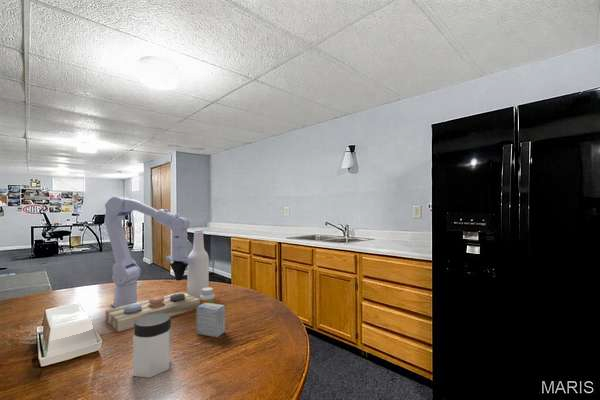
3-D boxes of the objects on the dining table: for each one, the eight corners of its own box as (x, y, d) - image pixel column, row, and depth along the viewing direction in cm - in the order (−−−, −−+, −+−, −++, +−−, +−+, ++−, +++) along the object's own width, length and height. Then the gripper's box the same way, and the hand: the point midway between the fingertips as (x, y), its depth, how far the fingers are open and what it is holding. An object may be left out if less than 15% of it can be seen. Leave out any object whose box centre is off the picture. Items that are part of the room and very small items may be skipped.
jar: (163, 354, 75) (164, 310, 76) (177, 366, 70) (178, 318, 70) (126, 369, 68) (127, 320, 69) (139, 383, 63) (140, 330, 63)
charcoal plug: (167, 307, 109) (168, 295, 109) (180, 304, 113) (180, 292, 113) (173, 311, 106) (174, 298, 106) (187, 307, 110) (187, 295, 110)
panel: (105, 320, 98) (105, 310, 98) (182, 299, 119) (182, 291, 119) (118, 331, 89) (118, 320, 89) (199, 307, 110) (199, 298, 110)
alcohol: (182, 299, 120) (183, 230, 121) (197, 293, 128) (198, 228, 129) (198, 302, 117) (199, 230, 117) (212, 295, 125) (213, 229, 125)
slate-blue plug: (121, 320, 97) (121, 306, 97) (137, 316, 101) (138, 303, 101) (126, 324, 94) (127, 310, 94) (143, 319, 98) (143, 306, 98)
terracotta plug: (146, 311, 103) (146, 298, 103) (160, 307, 107) (160, 295, 107) (151, 314, 100) (152, 301, 100) (166, 310, 104) (166, 297, 104)
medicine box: (225, 332, 89) (225, 304, 89) (217, 338, 85) (217, 309, 85) (205, 328, 92) (205, 302, 92) (196, 334, 87) (196, 306, 88)
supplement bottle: (210, 318, 100) (210, 291, 100) (196, 317, 101) (196, 290, 101) (217, 313, 105) (217, 287, 105) (204, 311, 106) (204, 286, 106)
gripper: (159, 246, 114) (159, 279, 113) (182, 249, 106) (182, 284, 106) (174, 244, 120) (174, 276, 119) (197, 247, 113) (197, 280, 112)
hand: (179, 280), depth 113 cm, fingers closed
